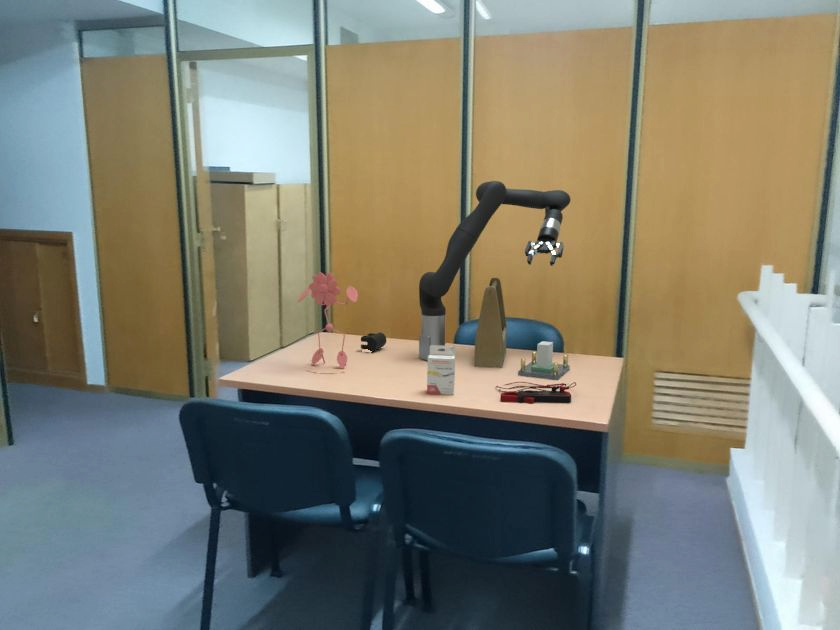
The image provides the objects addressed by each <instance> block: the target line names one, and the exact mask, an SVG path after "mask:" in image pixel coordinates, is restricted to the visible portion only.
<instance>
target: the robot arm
mask: <svg viewBox="0 0 840 630" xmlns="http://www.w3.org/2000/svg"><path fill="white" fill-rule="evenodd" d="M475 197H476V199H477V201H478V204H477V205H476V207H475V208H474V210H472V211H471V212H470V213H469V214H468V215H467V216H466V217H465V218H464V219H463V220H462V221H461V222H460V223H459V224H458V225H457V227H456V228H455V230H454V231H453V233H452V234H451V236H450V238H449V240H448V243H447V247H446V252H445V256H444V259H443V261H442V262H441V264H440V266H439V267H438V269H437V270H436V271H435V272H433V271H428V272H425V273H424V274H422V276H421V277H420V279H419V282H418V283H419V285H418V293H419V295H418V298H419V300H418V301H419V306H420V311H421V323H420V324H421V328H420V329H421V333H419V334H418V335H419V337H418V338H419V339H418V340H419V341H418V358H419V359H422V360H423V361H427V362H428V356H429V354H430V350H429V349H430V345H434V346H446V314H447V313H446V312H447V311H446V307H445V305H444V303H443V302H442V301H443V300H442V298H443V297H444V296H445V295H446V294H448V292H449V290H450V289H451V286H452V285H453V283H454V280H455V278H456V276H457V273H458V272H459V270H460V269H461V267H462V265H463V264H464V262H465V260H466V259H467V257H468V256H469V254H470V252H471V251H472V249H473V248H474V247H475V245H476V243H477V241H478V239H479V238H480V236H481V234H482V233H483V231H484V230H485V228H486V226H487V224H488V223H489V221H490V219H492V217H493V216H494V215H495V213H496V211H497V210H498V209H500V207H501V206H502V205H507V206H509V205H510V206H514V207H515V206H517V207H521V208H522V207H523V208H530V209H537V210H544V209H545V210H544V214H545V216H544V218H543V221H542V224H541V225H540V228H539V231H538V232H539V233H538V235H537V239H536V241H535V242H532V241H531V240H529V241H528V242H527V244H526V247H525V250H524V254H525V257H527V258H526V261H527V264H528V265H530V266H531V265H532V262H533V259H534V257H535V256H537V255H539V254H545V255H546V254H550V256H551V257H550V260H549V265H550V266H551V267H553V266H554V265H555V263H556V260H557V258H562V257H563V252H564V242H563V241H560V242H559V243H558V238H559V236H560V231H561V226H562V222H563V218H564V216H563V212H562V211H563V210H565V209H566V208H567V207H568V206H569V205H570V203H571V200H572V199H571V196H570V195H569V193H568V192H566V191H564V190H561V189H560V190H559V189H557V190H547V191H541V190H536V189H535V190H533V189H516V188H515V189H514V188H506V185H505V184H504V183H503V182H502V181H498V180H491V181H486V182H481V184H480V185H478V186H477V189H476V191H475ZM556 248H557V252H556V251H555V249H556ZM438 351H446V349H443V348H441V349H438Z"/></svg>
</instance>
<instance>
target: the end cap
mask: <svg viewBox="0 0 840 630" xmlns="http://www.w3.org/2000/svg"><path fill="white" fill-rule="evenodd" d="M360 342H361V343H362V342H364V343H366V344H360V349H361V350H363V349H368V350H370V351H374V352H376V351H377V349H378V350H380V349H381V347H382V348H383V347H384V346H386V344H387V336H386V335H385V334H384V333H383V332H382V331H381V332H380V331H379V332H376V333H372V332H371V333H368V334H367V335H362V336H361V337H360ZM379 348H380V349H379ZM375 350H376V351H375Z"/></svg>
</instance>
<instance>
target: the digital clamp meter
mask: <svg viewBox="0 0 840 630" xmlns="http://www.w3.org/2000/svg"><path fill="white" fill-rule="evenodd" d="M519 383H520V384H521V383H522V384H529V385H531V386H525V385H516V386H515V385H514V386H512V387H508V388H505V387H501V386H499V385H497V386H495V388H500V389H498V391H499V392H501V393H500V398H499V399H500V402H502V403H519V404H521V403H526V404H527V403H528V404H534V403H542V404H545V403H548V404H549V403H551V404H556V403H557V404H571V402H572V394H571V392H569V391H566V390H569V389H571V388H575V387H576V386H577V382H572V383H570V384H568V386H567V383H563V382H561V383H552V384H547V385H542V384H537V383H533V382H527V381H514V382H510V383H506V384H505V386H508V385H513V384H519ZM573 384H574V385H573ZM532 385H534V386H532ZM520 388H522V389H520ZM502 389H504V390H502ZM513 389H518V390H513ZM529 389H530V390H529ZM546 389H551V390H546ZM558 389H559V390H558ZM507 390H509V391H507ZM511 390H513V391H511Z"/></svg>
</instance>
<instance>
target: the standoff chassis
mask: <svg viewBox="0 0 840 630" xmlns="http://www.w3.org/2000/svg"><path fill="white" fill-rule="evenodd" d="M531 353H532V354H531V361H530V362H529V363H528V364H526V361H527V360H526V358H521V359H520V369H519V370H518V371H517V375H518V376H520V377H527V378H537V379H545V380H546V379H547V380H552V381H553V380H554V381H558V380H560V377H561V376H562V377H563V376H564V375H565V374H566V373H567V372H568V371H569V370H571V368H570V367H571V365H570V364H569V363H568V362H569V354H563V361H562V364H559V362H557V361H555V362H553V363H554V366H553V370H552V371H551V372H547V371H538V370H531V367H532V366H533V365H535V364H536V363H537V351H531ZM562 377H561V378H562Z"/></svg>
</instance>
